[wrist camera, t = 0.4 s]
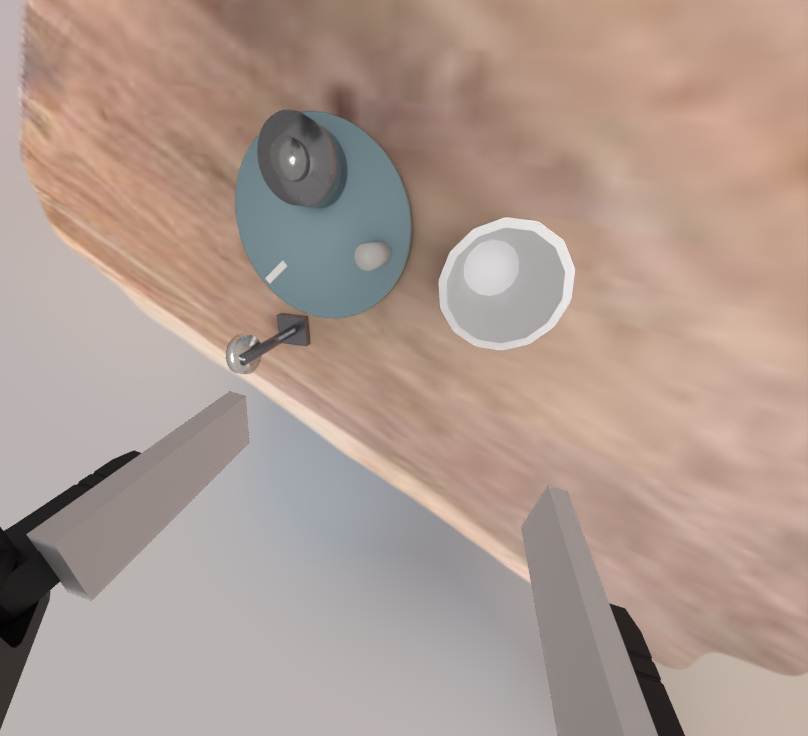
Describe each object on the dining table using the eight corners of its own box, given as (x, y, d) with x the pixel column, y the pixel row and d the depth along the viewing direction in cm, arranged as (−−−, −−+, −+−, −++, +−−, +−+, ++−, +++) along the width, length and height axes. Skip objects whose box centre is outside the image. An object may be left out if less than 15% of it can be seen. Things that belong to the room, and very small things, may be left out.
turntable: (230, 118, 30) (170, 90, 24) (418, 117, 27) (404, 86, 21) (262, 306, 39) (224, 321, 33) (407, 321, 36) (394, 341, 30)
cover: (277, 124, 28) (242, 105, 24) (346, 124, 27) (322, 104, 23) (287, 206, 31) (257, 203, 27) (348, 209, 30) (328, 206, 26)
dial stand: (280, 312, 40) (215, 341, 30) (307, 315, 40) (250, 346, 29) (284, 341, 42) (225, 379, 32) (310, 344, 41) (258, 383, 31)
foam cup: (528, 207, 29) (566, 195, 18) (542, 295, 33) (582, 332, 21) (438, 240, 32) (422, 247, 21) (459, 318, 36) (455, 361, 24)
